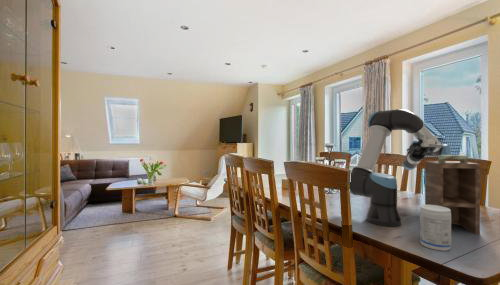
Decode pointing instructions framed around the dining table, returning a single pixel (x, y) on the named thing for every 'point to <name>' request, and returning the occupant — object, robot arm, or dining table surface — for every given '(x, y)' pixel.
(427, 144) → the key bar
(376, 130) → the robot arm
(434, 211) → the supplement tub
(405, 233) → the dining table surface
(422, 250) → the dining table surface
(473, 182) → the shelf
